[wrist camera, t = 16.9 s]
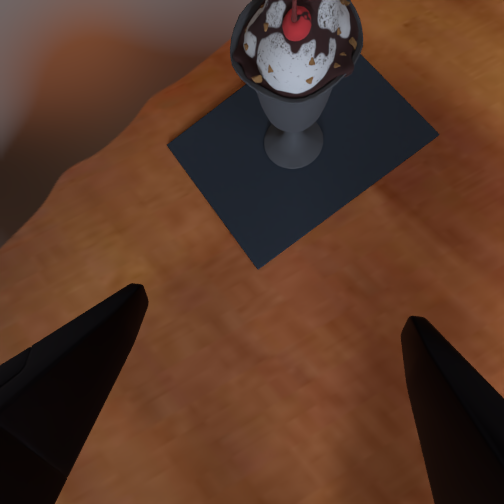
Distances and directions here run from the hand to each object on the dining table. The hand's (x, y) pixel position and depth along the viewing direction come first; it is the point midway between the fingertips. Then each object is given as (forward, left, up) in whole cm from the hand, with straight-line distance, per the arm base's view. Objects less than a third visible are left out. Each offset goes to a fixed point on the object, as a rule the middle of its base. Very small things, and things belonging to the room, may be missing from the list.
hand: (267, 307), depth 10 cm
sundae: (+10, -9, -13) cm, 19 cm away
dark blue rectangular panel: (+10, -9, -13) cm, 19 cm away
